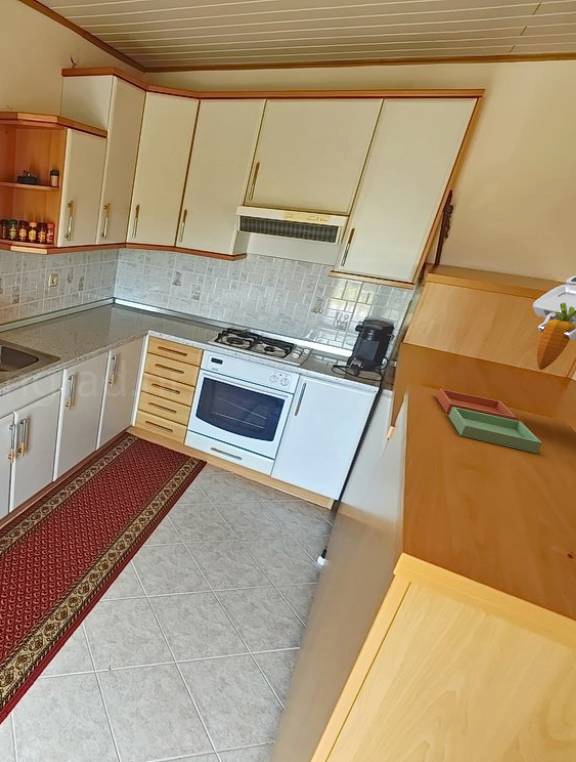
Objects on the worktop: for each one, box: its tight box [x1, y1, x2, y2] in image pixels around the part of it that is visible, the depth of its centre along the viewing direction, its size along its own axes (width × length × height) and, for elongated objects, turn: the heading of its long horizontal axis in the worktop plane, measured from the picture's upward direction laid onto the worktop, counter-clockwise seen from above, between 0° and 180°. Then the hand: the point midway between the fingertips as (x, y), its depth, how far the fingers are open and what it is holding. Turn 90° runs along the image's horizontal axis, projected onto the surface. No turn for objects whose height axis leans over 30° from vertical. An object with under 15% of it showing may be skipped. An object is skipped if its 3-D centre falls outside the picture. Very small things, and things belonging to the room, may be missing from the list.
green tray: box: [448, 407, 542, 454], centre depth 110 cm, size 13×13×3 cm
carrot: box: [536, 303, 576, 371], centre depth 108 cm, size 5×5×15 cm
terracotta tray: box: [436, 388, 518, 421], centre depth 124 cm, size 13×13×3 cm
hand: (554, 333), depth 107 cm, fingers closed on carrot, 4 cm apart
